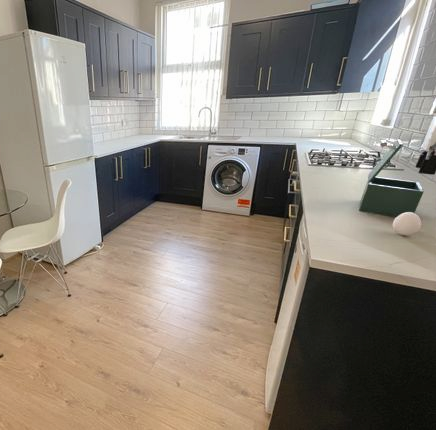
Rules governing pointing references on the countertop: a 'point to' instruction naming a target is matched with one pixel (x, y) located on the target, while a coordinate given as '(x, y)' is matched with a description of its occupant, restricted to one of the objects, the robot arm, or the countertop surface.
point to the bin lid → (384, 158)
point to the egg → (407, 223)
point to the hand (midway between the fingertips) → (424, 170)
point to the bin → (390, 197)
